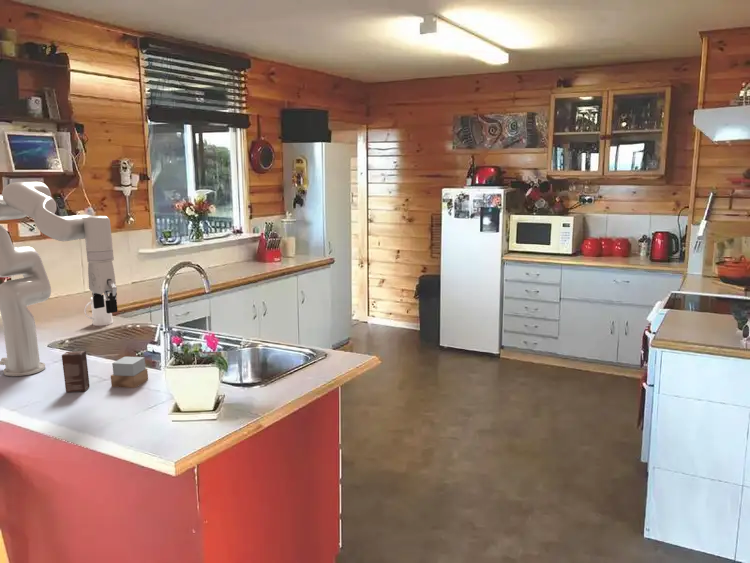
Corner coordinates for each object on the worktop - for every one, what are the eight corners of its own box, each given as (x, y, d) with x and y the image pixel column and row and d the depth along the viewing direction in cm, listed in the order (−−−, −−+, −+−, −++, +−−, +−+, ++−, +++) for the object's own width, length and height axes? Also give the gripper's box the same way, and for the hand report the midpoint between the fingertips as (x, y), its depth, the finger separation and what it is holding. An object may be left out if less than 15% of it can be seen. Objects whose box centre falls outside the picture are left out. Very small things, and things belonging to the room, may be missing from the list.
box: (90, 386, 200) (86, 350, 198) (85, 391, 196) (81, 354, 193) (70, 387, 199) (66, 351, 197) (65, 392, 195) (60, 355, 193)
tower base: (111, 387, 200) (110, 375, 199) (125, 379, 208) (124, 367, 207) (134, 388, 198) (133, 376, 198) (148, 380, 206) (147, 368, 205)
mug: (89, 328, 272) (86, 301, 269) (81, 324, 278) (79, 298, 275) (116, 323, 280) (114, 296, 277) (108, 319, 286) (106, 294, 283)
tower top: (113, 375, 199) (112, 363, 199) (125, 368, 206) (124, 356, 205) (133, 376, 198) (132, 364, 197) (145, 369, 205) (144, 357, 204)
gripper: (77, 255, 198) (82, 308, 202) (99, 260, 186) (104, 316, 190) (101, 252, 204) (106, 304, 207) (124, 257, 192) (129, 312, 195)
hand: (105, 310), depth 198 cm, fingers open, 9 cm apart
